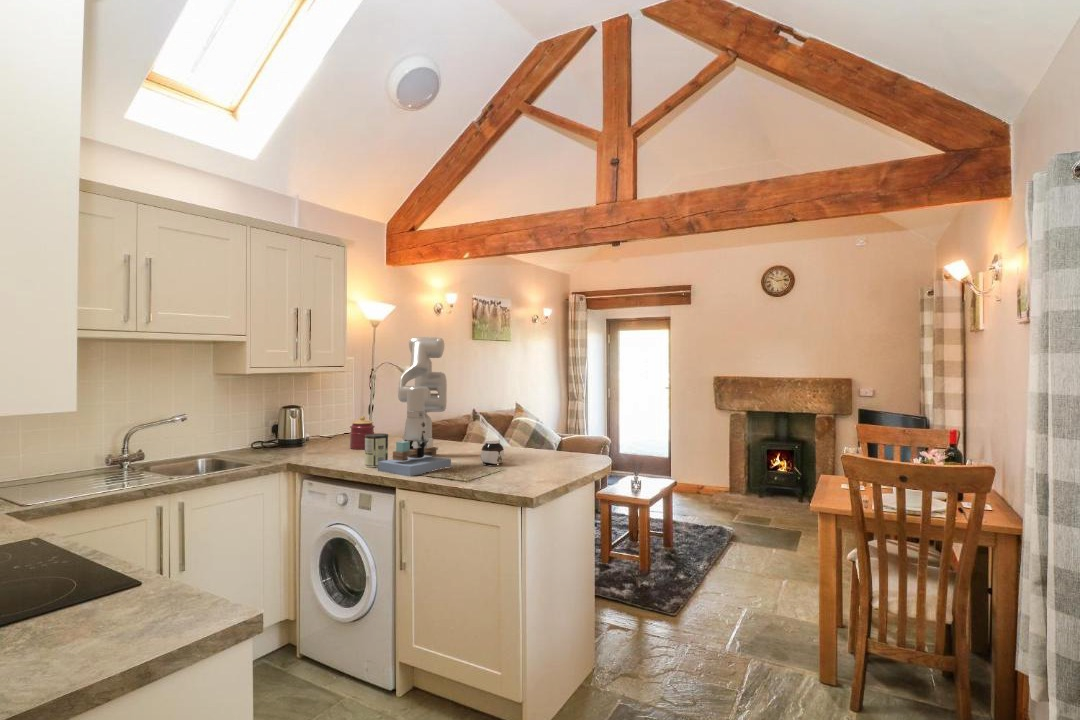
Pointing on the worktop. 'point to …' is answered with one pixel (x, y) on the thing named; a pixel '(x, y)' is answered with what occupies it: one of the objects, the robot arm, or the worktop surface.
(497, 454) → the spread jar
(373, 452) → the coffee can
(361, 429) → the canister
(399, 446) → the teal cube
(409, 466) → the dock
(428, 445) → the cream cube
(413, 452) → the brown long wavy block
